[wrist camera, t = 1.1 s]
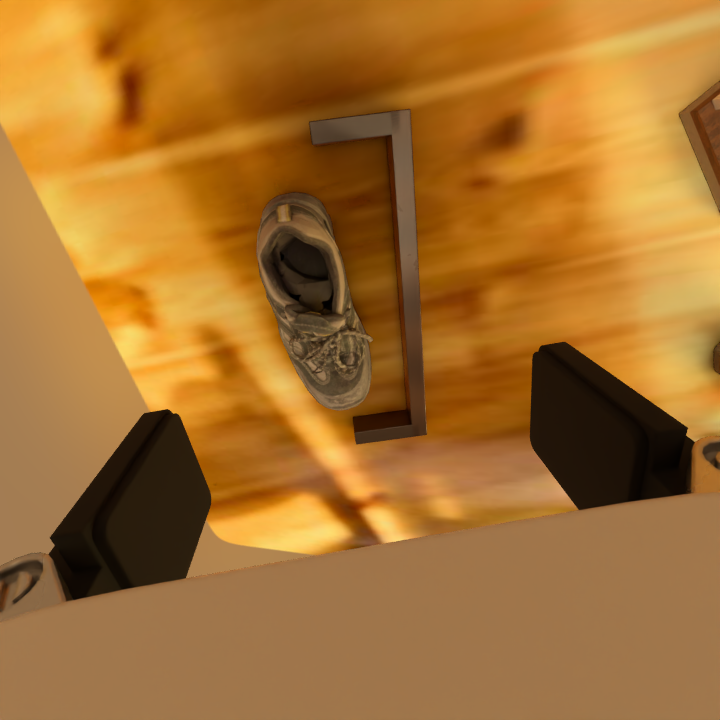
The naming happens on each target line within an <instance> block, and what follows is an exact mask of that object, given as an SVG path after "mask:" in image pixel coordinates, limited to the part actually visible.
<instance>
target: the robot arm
mask: <svg viewBox="0 0 720 720" xmlns="http://www.w3.org/2000/svg"><path fill="white" fill-rule="evenodd" d="M687 429H688V428H687V427H686V426H684V425H683V424H681V423H680V422H679V421H677V420H676V419H674V418H673V417H672V416H670V415H669V414H667V413H666V412H664V411H663V410H662V409H660V408H659V407H657V406H656V405H654V404H653V403H652V402H650V401H649V400H647V399H646V398H645V397H643V396H642V395H640V394H639V393H637V392H636V391H635V390H633V389H632V388H630V387H629V386H627V385H626V384H625V383H623V382H622V381H620V380H619V379H617V378H616V377H615V376H613V375H612V374H610V373H609V372H608V371H606V370H605V369H603V368H602V367H600V366H599V365H598V364H596V363H595V362H593V361H592V360H590V359H589V358H588V357H586V356H585V355H583V354H582V353H580V352H579V351H578V350H576V349H575V348H573V347H572V346H571V345H569V344H568V343H566V342H560V343H554V344H548V345H542V346H541V347H540V348H539V351H538V352H535V353H534V354H533V359H532V389H531V420H530V441H531V445H532V447H533V449H534V451H535V452H536V454H537V455H538V456H539V458H540V459H541V460H542V462H543V463H544V464H545V465H546V467H547V468H548V469H549V471H550V472H551V473H552V475H553V476H554V477H555V479H556V480H557V481H558V483H559V484H560V485H561V487H562V488H563V489H564V491H565V492H566V493H567V495H568V496H569V497H570V499H571V500H572V501H573V503H574V504H575V505H576V507H577V508H578V509H579V510H577V511H571V512H566V513H560V514H554V515H548V516H542V517H536V518H530V519H524V520H518V521H512V522H506V523H500V524H494V525H488V526H483V527H477V528H471V529H465V530H460V531H454V532H448V533H442V534H437V535H431V536H425V537H419V538H414V539H408V540H402V541H396V542H391V543H385V544H379V545H373V546H368V547H362V548H356V549H350V550H345V551H339V552H333V553H327V554H321V555H316V556H310V557H305V558H298V559H293V560H287V561H281V562H275V563H269V564H264V565H258V566H252V567H247V568H241V569H236V570H230V571H224V572H219V573H213V574H208V575H202V576H196V577H191V578H186V576H187V573H188V570H189V567H190V564H191V561H192V558H193V556H194V552H195V550H196V547H197V544H198V541H199V538H200V535H201V532H202V529H203V526H204V523H205V521H206V518H207V515H208V512H209V509H210V506H211V494H210V490H209V488H208V485H207V483H206V480H205V478H204V475H203V473H202V470H201V468H200V465H199V463H198V460H197V458H196V455H195V453H194V450H193V448H192V445H191V443H190V440H189V438H188V435H187V433H186V430H185V428H184V425H183V423H182V420H181V418H180V416H179V415H178V414H176V413H175V414H173V413H172V412H171V411H170V410H168V409H166V410H161V411H155V412H149V413H144V414H143V415H142V416H141V418H140V419H139V420H138V422H137V423H136V424H135V425H134V427H133V428H132V429H131V431H130V432H129V433H128V435H127V436H126V437H125V439H124V440H123V441H122V443H121V444H120V445H119V447H118V448H117V449H116V451H115V452H114V453H113V455H112V456H111V457H110V459H109V460H108V461H107V463H106V464H105V465H104V467H103V468H102V469H101V471H100V472H99V473H98V474H97V476H96V477H95V478H94V480H93V481H92V483H91V484H90V485H89V487H88V488H87V489H86V491H85V492H84V493H83V494H82V496H81V497H80V498H79V500H78V501H77V502H76V504H75V505H74V506H73V508H72V509H71V510H70V512H69V513H68V514H67V516H66V517H65V518H64V520H63V521H62V522H61V524H60V525H59V526H58V527H57V529H56V530H55V532H54V533H53V534H52V535H51V537H50V539H51V540H52V542H53V543H54V545H55V546H54V548H53V549H52V550H51V552H50V553H49V554H45V553H31V554H27V555H24V556H21V557H18V558H15V559H13V560H11V561H9V562H7V563H5V564H3V565H1V566H0V720H720V436H709V437H705V438H701V439H700V440H698V441H697V442H694V441H693V440H691V439H690V438H689V437H687V436H686V433H687Z"/></svg>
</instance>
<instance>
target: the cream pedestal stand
mask: <svg viewBox="0 0 720 720" xmlns="http://www.w3.org/2000/svg"><path fill="white" fill-rule="evenodd" d="M679 115H680V118H681V120H682V122H683V125H684V127H685V130H686V132H687V135H688V137H689V139H690V142H691V144H692V147H693V149H694V151H695V154H696V156H697V159H698V161H699V163H700V166H701V168H702V171H703V173H704V175H705V178H706V180H707V183H708V185H709V187H710V190H711V192H712V195H713V197H714V200H715V202H716V204H717V207H718V209H719V212H720V81H719V82H718V83H717V84H715V85H714V86H713V87H712V88H710V89H709V90H708V91H707V92H705V93H704V94H703V95H702V96H700V97H699V98H698V99H697V100H695V101H694V102H693V103H692V104H691V105H689V106H688V107H687V108H686V109H684V110H683V111H682V112H681V113H679Z"/></svg>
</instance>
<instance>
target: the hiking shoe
mask: <svg viewBox="0 0 720 720" xmlns="http://www.w3.org/2000/svg"><path fill="white" fill-rule="evenodd" d="M257 258H258V264H259V272H260V277H261V279H262V282H263V284H264V287H265V289H266V294H267V299H268V300H269V302H270V304H271V306H272V308H273V311H274V313H275V316H276V318H277V321H278V328H279V333H280V336H281V339H282V341H283V343H284V346H285V348H286V350H287V352H288V354H289V357H290V359H291V361H292V363H293V365H294V367H295V369H296V371H297V373H298V375H299V377H300V378H301V380H302V382H303V383H304V385H305V387H306V388H307V390H308V391H309V392H310V393H311V394H312V396H313V397H314V398H315V399H316V400H317V401H318V402H319V403H320V404H322V405H323V406H325V407H327V408H329V409H333V410H347V409H350V408H352V407H355V406H357V405H359V404H360V403H361V402H363V400H364V399H365V397H366V396H367V394H368V392H369V387H370V381H371V357H370V351H369V344H368V341H367V340H369V341H370V342H371V341H373V339H372V338H371V336H369V335H368V334H366V332H365V329H364V328H363V326H362V324H361V321H360V319H359V317H358V315H357V313H356V311H355V310H354V307H353V304H352V299H351V296H350V291H349V287H348V283H347V277H346V272H345V267H344V264H343V260H342V257H341V253H340V251H339V249H338V247H337V245H336V243H335V236H334V235H333V228H332V222H331V219H330V216H329V214H327V212H326V209H325V207H324V205H323V204H322V202H321V201H320V200H318V199H317V198H316V197H313V196H311V195H308V194H306V193H296V192H293V193H288V194H284V195H280V196H277V197H275V198H274V199H272V200H271V201H269V203H268V204H267V206H266V207H265V209H264V210H263V213H262V218H261V223H260V228H259V231H258V237H257Z"/></svg>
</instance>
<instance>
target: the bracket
mask: <svg viewBox="0 0 720 720" xmlns="http://www.w3.org/2000/svg"><path fill="white" fill-rule="evenodd" d="M309 126H310V133H311V139H312V145H313V146H322V145H330V144H338V143H346V142H354V141H362V140H370V139H378V138H386V137H387V150H388V163H389V177H390V190H391V203H392V217H393V230H394V243H395V257H396V270H397V283H398V297H399V310H400V324H401V337H402V350H403V364H404V377H405V390H406V404H407V410H403V411H395V412H388V413H381V414H373V415H366V416H358V417H353V424H354V434H355V441H356V444H363V443H371V442H378V441H385V440H393V439H400V438H407V437H415V436H422V435H427V425H426V406H425V386H424V366H423V347H422V327H421V308H420V288H419V268H418V249H417V229H416V209H415V190H414V170H413V150H412V131H411V111H410V109H405V110H397V111H390V112H382V113H374V114H366V115H358V116H350V117H342V118H334V119H326V120H318V121H310V122H309Z"/></svg>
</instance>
